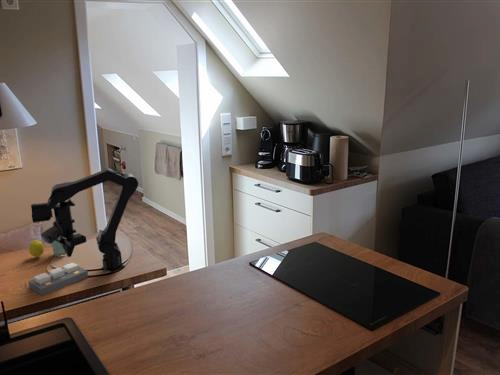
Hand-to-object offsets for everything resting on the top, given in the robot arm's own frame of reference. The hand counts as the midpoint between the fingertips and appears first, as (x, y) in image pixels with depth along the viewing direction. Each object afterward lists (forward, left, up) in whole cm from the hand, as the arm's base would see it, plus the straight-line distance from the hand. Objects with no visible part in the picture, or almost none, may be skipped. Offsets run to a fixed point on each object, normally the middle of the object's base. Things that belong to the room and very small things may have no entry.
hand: (69, 256), depth 167 cm
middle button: (+6, 0, -6) cm, 8 cm away
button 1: (+11, 0, -6) cm, 13 cm away
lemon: (0, -28, -8) cm, 29 cm away
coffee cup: (-8, -23, -8) cm, 26 cm away
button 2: (0, 0, -6) cm, 6 cm away
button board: (+6, +1, -8) cm, 10 cm away
